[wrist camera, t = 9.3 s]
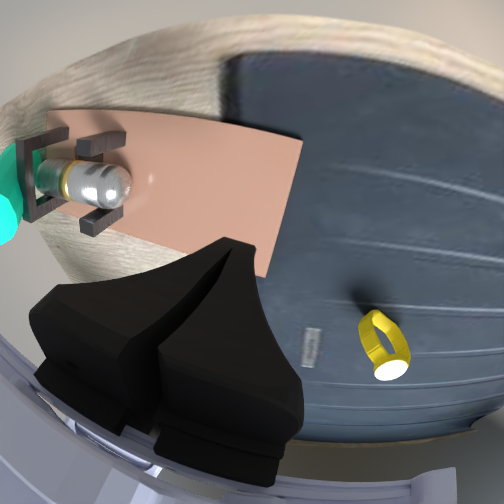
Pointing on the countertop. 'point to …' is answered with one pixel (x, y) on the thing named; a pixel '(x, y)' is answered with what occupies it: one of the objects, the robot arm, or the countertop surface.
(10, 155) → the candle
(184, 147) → the plate
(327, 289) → the countertop surface
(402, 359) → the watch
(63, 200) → the black upright posts
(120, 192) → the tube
